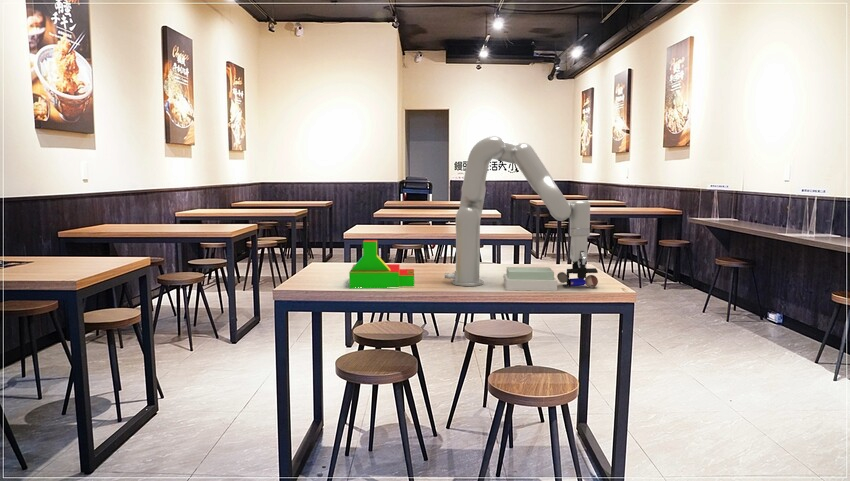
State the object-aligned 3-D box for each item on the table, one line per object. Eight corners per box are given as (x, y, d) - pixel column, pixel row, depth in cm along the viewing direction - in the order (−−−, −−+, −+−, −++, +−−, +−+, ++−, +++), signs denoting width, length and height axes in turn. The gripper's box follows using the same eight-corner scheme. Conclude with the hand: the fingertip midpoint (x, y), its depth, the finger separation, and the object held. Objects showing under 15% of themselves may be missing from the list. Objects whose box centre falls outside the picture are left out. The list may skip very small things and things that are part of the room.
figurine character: (559, 291, 226) (599, 288, 224) (557, 272, 225) (598, 269, 223) (558, 288, 233) (597, 285, 230) (556, 269, 232) (595, 266, 230)
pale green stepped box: (506, 290, 221) (506, 272, 220) (503, 283, 234) (503, 266, 233) (556, 290, 220) (557, 272, 220) (551, 284, 233) (551, 267, 232)
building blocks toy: (414, 289, 225) (414, 242, 223) (349, 289, 225) (348, 242, 222) (413, 279, 244) (413, 236, 242) (354, 280, 243) (353, 236, 241)
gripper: (565, 230, 234) (565, 272, 236) (574, 234, 217) (573, 279, 219) (584, 229, 234) (583, 271, 236) (594, 234, 217) (594, 279, 219)
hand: (579, 275), depth 228 cm, fingers open, 9 cm apart
